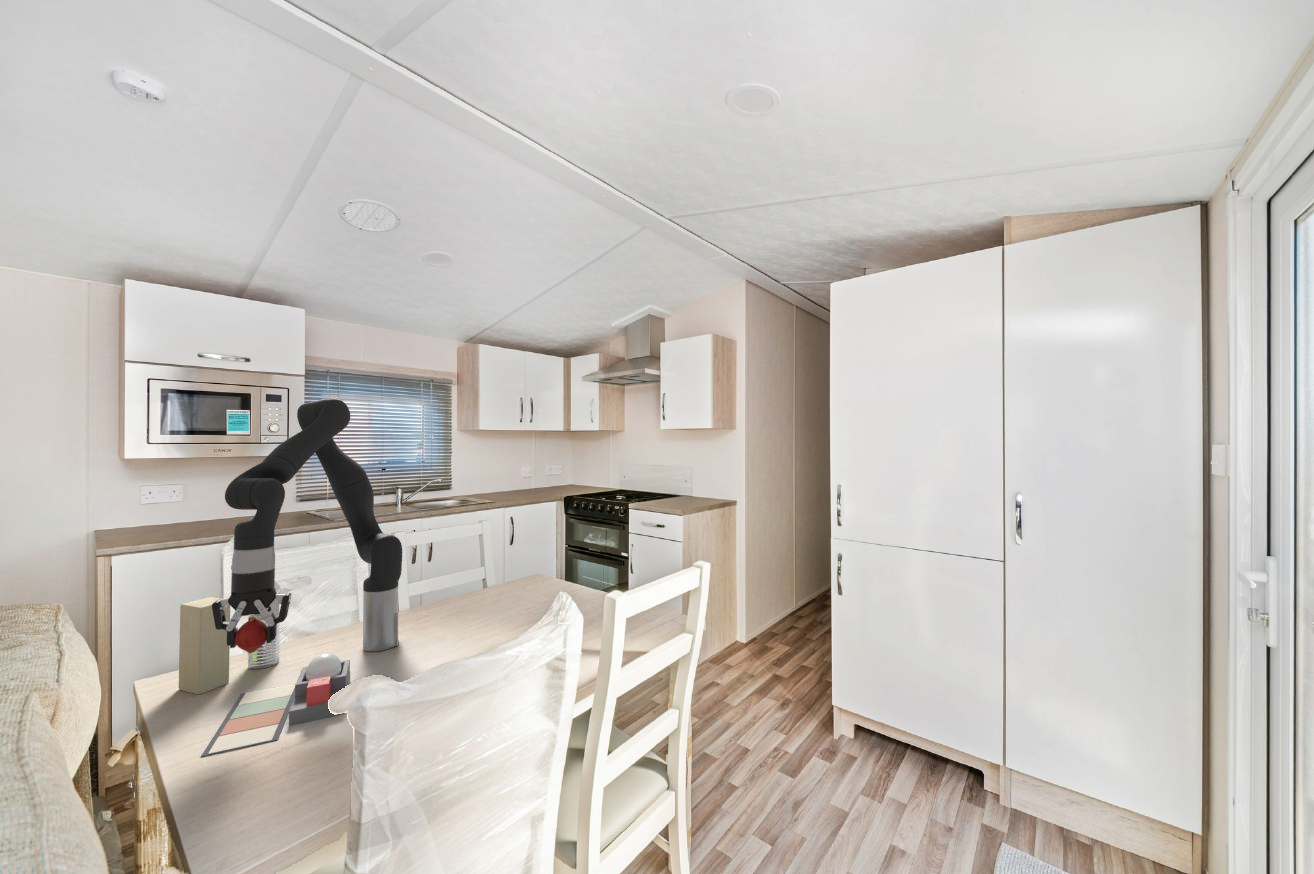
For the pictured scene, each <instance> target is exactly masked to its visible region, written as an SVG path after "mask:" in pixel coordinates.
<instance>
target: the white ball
mask: <svg viewBox="0 0 1314 874" xmlns="http://www.w3.org/2000/svg"><path fill="white" fill-rule="evenodd" d="M341 661H342V660H341V659H340V658H339V656H338V655H336V654H334V653H329V652H327V653H321V654H319V655H317V656H315V657H314V658H312V659H311V660H310V662H309V663H308V665H307V666H306V667H307V670H306V681H310V680H312V679H317V678H323V677H328V676H331V677H333V676H338V675H341Z"/></svg>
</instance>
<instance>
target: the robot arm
mask: <svg viewBox="0 0 1314 874" xmlns="http://www.w3.org/2000/svg"><path fill="white" fill-rule="evenodd" d="M296 416H297V418H296V419H297V422H298V425H299V427H300V429H301V431H299V432H297V433H295V434H294V435H293V436H290V437H288V438H287V439H286V440H284V441H283V442H280V444H279V445H277V446H276V447H275V448H274V449H273V450H272V451H271V452H270V453H269V454H268V455H267V456H266V457H265V458H264V459H263V460H262V462H259V463H258V464H255V466H253V467H251V468H249V469H248V470H246V471H244V472H242V473H241V474H239V475H238V476H236V477H235V478H234V479H233V480H232V481H230V483H229V484H228V485H227V487H226V490H225V491H224V500H225V501H224V502H225V503H226V504H227V506H229V507H230V508H232V509H235V510H243V511H245V510H250V511H251V510H255V511H256V512H255V515H254V516H253V518H252V519H248V520H244V521H241V522H238V523H237V524H236V525H235V527H234V532H233V534H234V535H233V552H232V553H233V554H232V558H231V559H232V560H231V565H230V566H231V567H230V570H231V581H230V583H231V584H230V596H229V598H226V599H225V598H223V599H224V600H221V599H222V598H221V599H219V600H217V601H215V602H214V603H213V604H212V611H213V616H214V622H215V628H216V629H217V630H220V629H223V630H226V631H227V645H228V646H230V649H235V648H236V647H238V646H237V645H236V643H235V635H236V632H237V631H238V629H239V628H238V627H237V626H238V623H239V622H240V620H241V618H242V617H247V616H249V615H250V614H255V615H257V614H261V615H262V617H263V618H264V619H265V620H266V622H267V624H268V627H267V643H271V642H272V641H273V640H274V639H275V637H276V633H277V624H278V623H280V624H281V623H283V622H284V621H285V620H286V619H287V617H288V614H289V608H290V604H291V599H292V593H291V592H286V593H279V594H277V593H276V591H275V588H274V587H275V582H276V580H275V578H276V551H275V528H276V526H277V521H278V519H279V515H280V512H281V510H282V507H283V505H284V502H285V498H286V490H285V486H284V485H285V484H287V483H288V482H290V481H291V480H292V479H293V478H294V476H295V475H296V474H297V473H298V472H299V471H300V469H301V468H303V466H304V465H305V464H306V463H307V462H308V460H309V459H310V458H311V457H313V456H314V455H316V457H317V459H318V461H319V463H320V465H321V468H323V470H324V473H325V475H326V477H327V480H328V482H329V484H330V488H331V490H332V492H333V495H334V496H335V498H336V500H337V502H338V504H339V506H340V508H341V510H342V513H343V515H344V517H345V519H346V521H347V523H348V526H349V528H350V530H351V534H352V537H353V540H354V543H355V547H356V550H357V553H358V555H359V557H360V558H361V560H362V561H363V562H365V563H367V564H370V575H369V576H368V577H366V578H365V579H364V580H363V583H362V585H363V586H362V587H363V588H362V597H363V598H362V648H363V650H364V651H366V652H380V651H385V650H388V649H391V648H394V646H395V647H398V646H399V581H400V578H401V576H402V569H403V568H402V567H403V545H402V542H401V540H400V538H398V537H397V536H396V535H392V534H388V533H384V532H383V530H382V529H381V527H380V525H379V523H378V521H377V519H376V516H375V512H374V506H375V505H374V504H375V502H374V501H375V498H374V497H375V496H374V489H373V486H372V483H371V481H370V480H369V476H368V473H366V470H365V469H364V468H363V467H362V465H360V464H359V463H358V462H357V461H356V460H354V459H353V458H352V457H350V455H348V454H347V453H345V452H344V451H343V450H342V449H341V448H340V447H339V446H338V445H337V443H336V442H335V441H336V440H334V437H335V436H337V435H338V434H340V432H342V431H343V430H345V429H346V428H347V426H348V425H349V423H350V420H351V410H350V408H349V407H348V404H346V403H345V401H344V400H342V399H339V398H324V399H320V400H316V401H311V402H305V403H303V404H301V405H300V406H299V407H298V408H297V412H296ZM275 599H277V600H278V603H279V605H280V607H279V616H278V617H276V616H275V614H274V612H273V609H272V607H271V606H270V605H271V603H272V602H273V601H274V600H275ZM227 604H229V605H230V608H231V607H232V609H233V610H234V613H233V615H232V616H231V617H230V622H226V617H225V611H224V609H225V608H226V607H227ZM264 612H265V613H264Z"/></svg>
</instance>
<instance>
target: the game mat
mask: <svg viewBox="0 0 1314 874" xmlns="http://www.w3.org/2000/svg"><path fill="white" fill-rule="evenodd" d="M295 684H296V683H293V684H287V685H286V684H285V685H280V686H276V687H271V688H264V689H258V690H253V691H248V692H242V693H240V694H239V696H238V697H237V699H236V701H235V702H234V703H233V705H232V706H231V708H230V710H229V712H228V713H227V715H226V716H225V718H224V719H223V721H222V723H221V724H220V726H219V727H218V728H217V730H216V732H215V733H214V735H213V737H212V738H211V740H210V741H209V742H208V745H207V746H206V748H205V749H204V750H203V752H202V753H201V755H200V758H203V757H207V756H208V757H210V756H212V755H218V754H221V753H222V754H223V753H226V752H230V751H236V750H240V749H244V748H249V747H254V746H258V745H262V744H268V743H272V742H276V741H278V740H279V737H280V735H281V733H282V731H283V728H284V726H285V723H286V721H287V719H288V717H289V710H290V708H291V706H292V703H293V701H294V698H295Z"/></svg>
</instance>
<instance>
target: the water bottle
mask: <svg viewBox="0 0 1314 874" xmlns="http://www.w3.org/2000/svg"><path fill="white" fill-rule="evenodd" d="M274 588H275V591H276V593H277V594H280V592H281V589H280V588H281V586H280V584H279V583H278V582H277V581H275V587H274ZM270 606H271V607H272V609H273V612H274V614H275V616H276V617H278V616H279V612H280V604H279V603H278V600H277V599H275V600H274V601H273V602H272V603H271V605H270ZM264 613H265V612H264ZM249 617H255V618H256V619H258V620H260V621H262V622H263V623H265V624H266V626H267V627H268V624H267V622H266V620H265V619H264V618H263V617H262V615H261V614H257V615H255V614H250V615H248V618H249ZM280 626H281V622H280V623H278V624H277V633H276V637H275V639H274V640H273V641H272V642H271V643H267V640H266V642H265V643H264V644H263V645H262V646H261V647H260V648H259V649H257V650H256V651H255V652H253V653H248V652H247V664H248V665H247V666H248V668H249V669H250V670H257V671H258V670H263V669H268V668H271V667H273V666H275V665H276V664H278V663H279V661H280V653H281V651H280V650H281V648H280V647H281V646H280V641H281V636H280V635H281V634H280V633H281V632H280V629H281V627H280Z"/></svg>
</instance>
